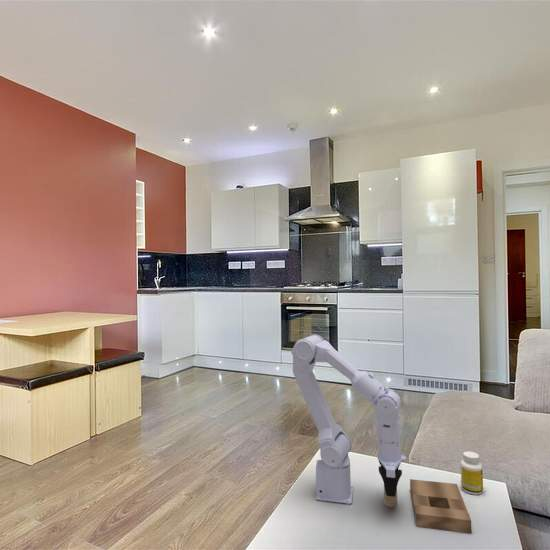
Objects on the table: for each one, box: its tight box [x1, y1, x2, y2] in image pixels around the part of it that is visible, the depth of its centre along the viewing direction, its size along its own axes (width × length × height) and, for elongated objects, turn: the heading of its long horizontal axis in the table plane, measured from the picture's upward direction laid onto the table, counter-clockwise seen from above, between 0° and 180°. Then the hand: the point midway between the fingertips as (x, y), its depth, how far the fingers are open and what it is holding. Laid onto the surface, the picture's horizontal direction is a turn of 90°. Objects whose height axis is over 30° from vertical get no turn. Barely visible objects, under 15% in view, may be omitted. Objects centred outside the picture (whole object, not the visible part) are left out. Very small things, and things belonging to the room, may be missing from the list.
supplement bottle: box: [460, 451, 484, 496], centre depth 105 cm, size 5×5×10 cm
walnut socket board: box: [409, 478, 472, 534], centre depth 97 cm, size 12×16×3 cm
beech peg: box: [383, 486, 398, 507], centre depth 98 cm, size 3×3×9 cm
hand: (390, 491), depth 98 cm, fingers closed on beech peg, 3 cm apart
